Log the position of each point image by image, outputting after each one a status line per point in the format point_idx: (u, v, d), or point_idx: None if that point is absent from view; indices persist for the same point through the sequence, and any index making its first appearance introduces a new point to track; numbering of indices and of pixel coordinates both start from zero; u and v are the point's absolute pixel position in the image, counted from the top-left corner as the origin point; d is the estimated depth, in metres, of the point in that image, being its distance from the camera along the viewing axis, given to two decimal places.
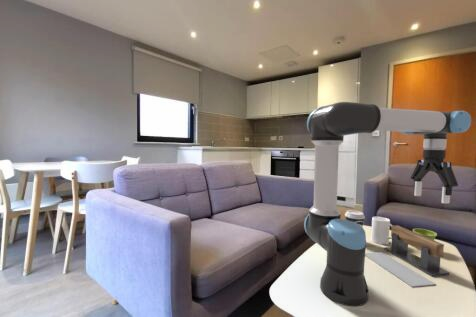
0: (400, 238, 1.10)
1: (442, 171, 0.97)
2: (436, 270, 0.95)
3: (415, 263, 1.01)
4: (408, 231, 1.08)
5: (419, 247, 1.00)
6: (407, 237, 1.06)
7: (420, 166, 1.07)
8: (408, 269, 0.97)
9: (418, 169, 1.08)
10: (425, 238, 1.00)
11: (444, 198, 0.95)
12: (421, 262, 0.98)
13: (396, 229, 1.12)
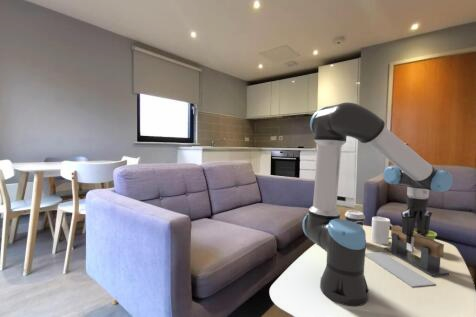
0: (400, 238, 1.10)
1: (411, 220, 1.03)
2: (436, 270, 0.95)
3: (415, 263, 1.01)
4: None
5: (419, 247, 1.00)
6: None
7: (424, 217, 1.05)
8: (408, 269, 0.97)
9: (423, 220, 1.05)
10: (425, 238, 1.00)
11: (407, 245, 1.05)
12: (421, 262, 0.98)
13: (396, 229, 1.12)
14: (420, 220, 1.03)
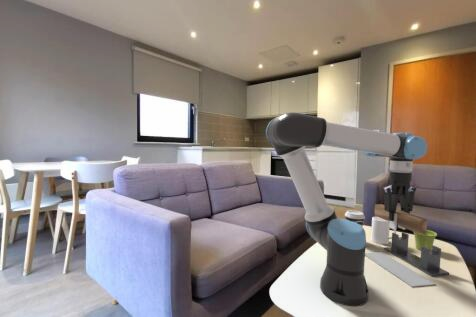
0: (383, 217, 1.03)
1: (394, 196, 0.96)
2: (436, 270, 0.95)
3: (415, 263, 1.01)
4: None
5: (402, 224, 0.94)
6: None
7: (408, 193, 0.98)
8: (408, 269, 0.97)
9: (407, 197, 0.99)
10: (408, 214, 0.93)
11: (390, 223, 0.99)
12: (421, 262, 0.98)
13: (379, 207, 1.05)
14: (403, 196, 0.97)
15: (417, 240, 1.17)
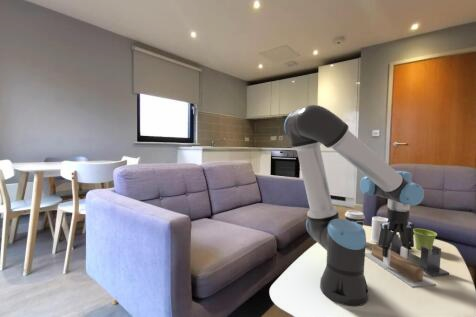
0: (380, 258, 1.04)
1: (390, 233, 0.97)
2: (436, 270, 0.95)
3: (415, 263, 1.01)
4: None
5: (398, 269, 0.95)
6: None
7: (407, 229, 0.99)
8: None
9: (407, 232, 1.00)
10: (405, 260, 0.94)
11: (383, 258, 0.99)
12: (421, 262, 0.98)
13: (376, 248, 1.06)
14: (402, 233, 0.98)
15: (417, 240, 1.17)
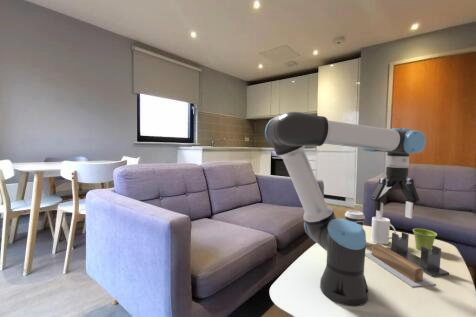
0: (380, 258, 1.04)
1: (387, 188, 0.97)
2: (436, 270, 0.95)
3: (415, 263, 1.01)
4: (388, 251, 1.02)
5: (398, 269, 0.95)
6: (387, 258, 1.00)
7: (408, 185, 1.00)
8: None
9: (409, 188, 1.00)
10: (405, 260, 0.94)
11: (376, 212, 0.99)
12: (421, 262, 0.98)
13: (376, 248, 1.06)
14: (404, 190, 0.98)
15: (417, 240, 1.17)
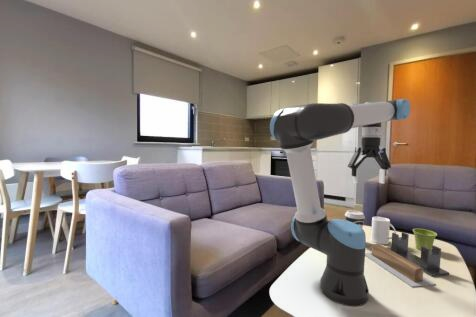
0: (380, 258, 1.04)
1: (362, 156, 1.09)
2: (436, 270, 0.95)
3: (415, 263, 1.01)
4: (388, 251, 1.02)
5: (398, 269, 0.95)
6: (387, 258, 1.00)
7: (381, 154, 1.11)
8: None
9: (382, 157, 1.11)
10: (405, 260, 0.94)
11: (353, 178, 1.10)
12: (421, 262, 0.98)
13: (376, 248, 1.06)
14: (377, 158, 1.09)
15: (417, 240, 1.17)
